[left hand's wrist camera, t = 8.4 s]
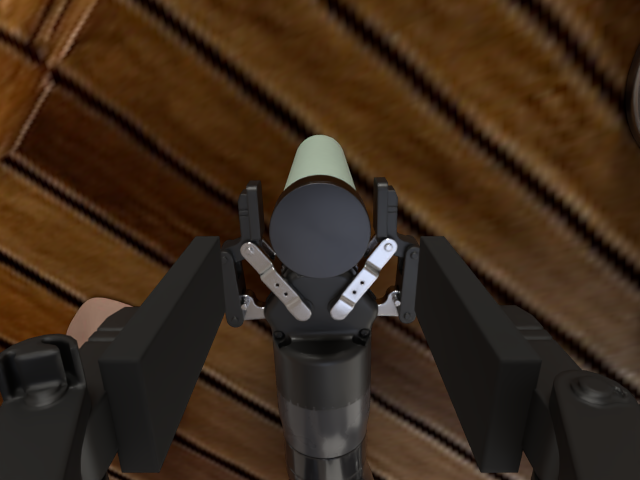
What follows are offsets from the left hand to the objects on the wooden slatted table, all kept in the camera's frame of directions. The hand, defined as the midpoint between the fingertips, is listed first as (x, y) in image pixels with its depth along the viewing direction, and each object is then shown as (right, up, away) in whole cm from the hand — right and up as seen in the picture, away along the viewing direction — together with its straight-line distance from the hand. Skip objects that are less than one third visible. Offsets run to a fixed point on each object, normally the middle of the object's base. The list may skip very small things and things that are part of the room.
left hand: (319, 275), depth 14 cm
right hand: (0, +5, +14) cm, 15 cm away
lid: (0, +2, +4) cm, 5 cm away
